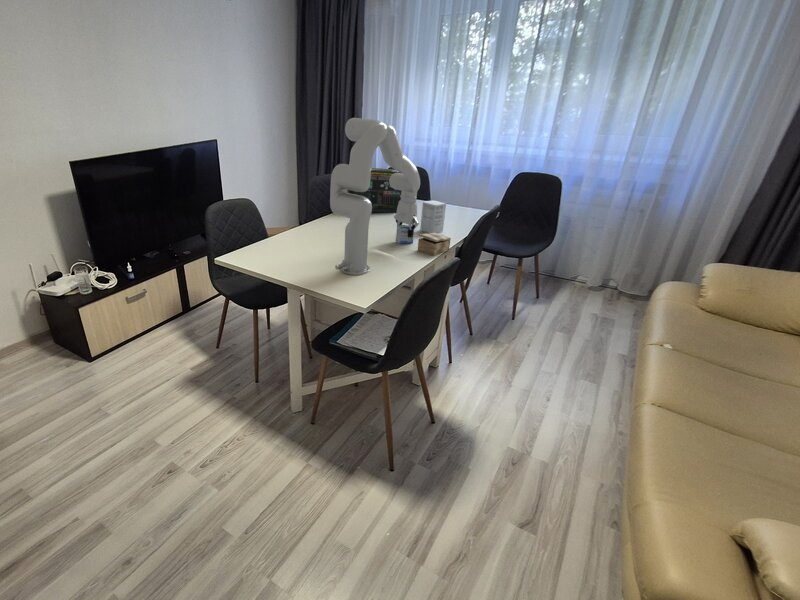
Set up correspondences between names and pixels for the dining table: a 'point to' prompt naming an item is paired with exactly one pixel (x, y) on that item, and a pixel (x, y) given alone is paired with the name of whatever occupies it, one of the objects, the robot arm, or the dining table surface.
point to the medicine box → (403, 234)
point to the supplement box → (432, 216)
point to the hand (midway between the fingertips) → (404, 234)
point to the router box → (381, 191)
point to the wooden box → (433, 246)
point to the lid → (434, 237)
